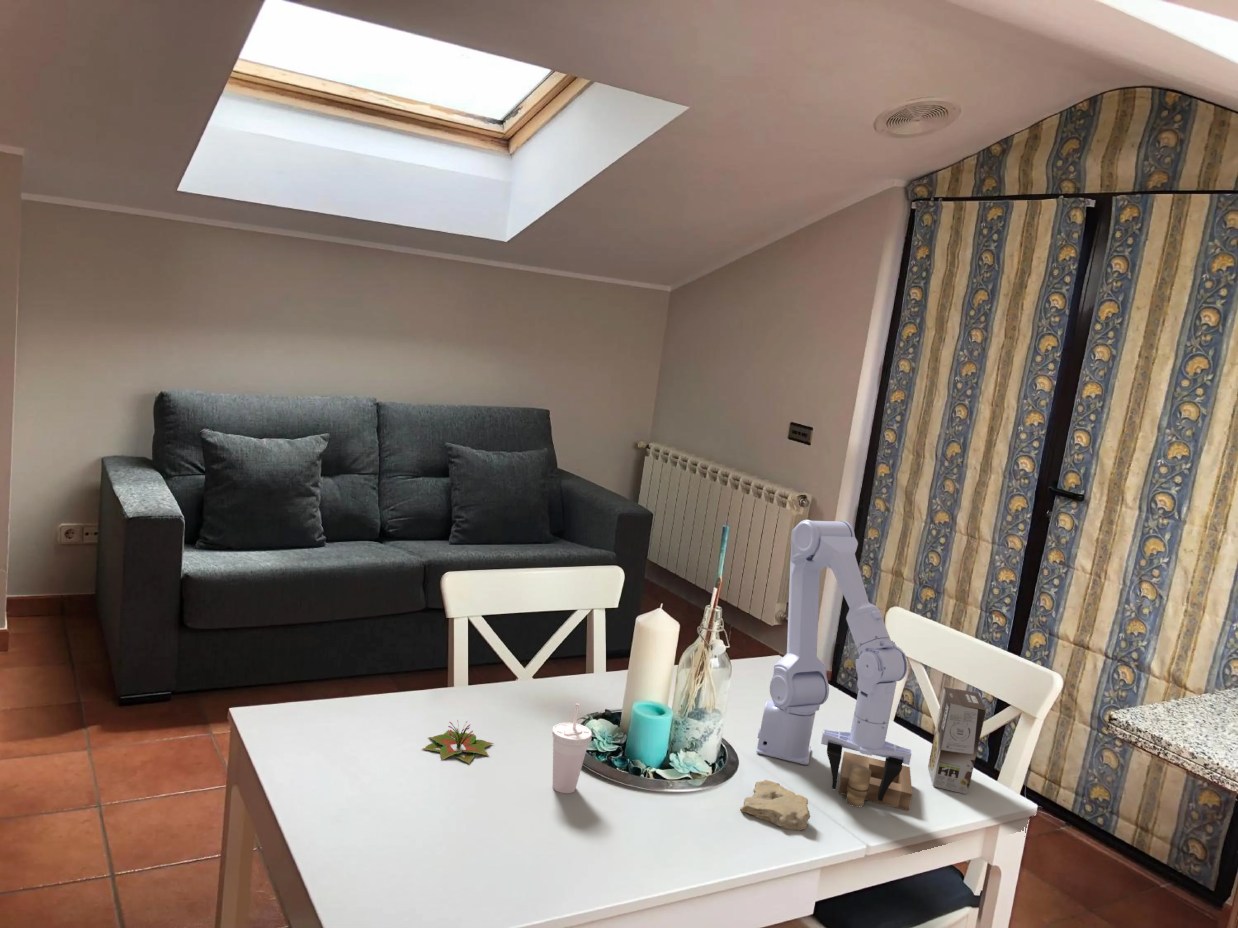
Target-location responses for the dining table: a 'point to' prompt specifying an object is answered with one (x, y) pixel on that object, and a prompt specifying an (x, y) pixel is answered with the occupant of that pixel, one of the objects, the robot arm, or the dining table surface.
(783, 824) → the stone
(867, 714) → the robot arm
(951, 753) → the coffee box
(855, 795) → the peg
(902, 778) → the board
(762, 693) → the dining table surface
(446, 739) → the lily flower
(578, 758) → the smoothie
